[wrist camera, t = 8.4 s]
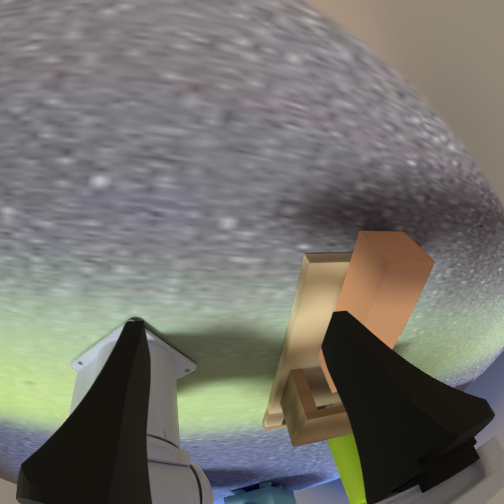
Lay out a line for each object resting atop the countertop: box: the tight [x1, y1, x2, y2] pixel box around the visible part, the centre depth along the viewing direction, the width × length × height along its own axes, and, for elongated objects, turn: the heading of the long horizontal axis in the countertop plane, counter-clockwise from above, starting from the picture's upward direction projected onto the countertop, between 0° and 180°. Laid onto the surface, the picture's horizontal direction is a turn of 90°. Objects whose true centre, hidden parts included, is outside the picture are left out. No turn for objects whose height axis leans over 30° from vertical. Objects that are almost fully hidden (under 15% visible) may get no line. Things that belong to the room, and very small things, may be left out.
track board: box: [262, 253, 353, 431], centre depth 29 cm, size 25×10×1 cm, turn 175°
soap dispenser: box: [327, 433, 367, 504], centre depth 35 cm, size 6×7×20 cm
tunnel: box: [280, 369, 353, 447], centre depth 28 cm, size 6×8×6 cm
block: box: [318, 231, 435, 393], centre depth 22 cm, size 13×4×4 cm, turn 175°
